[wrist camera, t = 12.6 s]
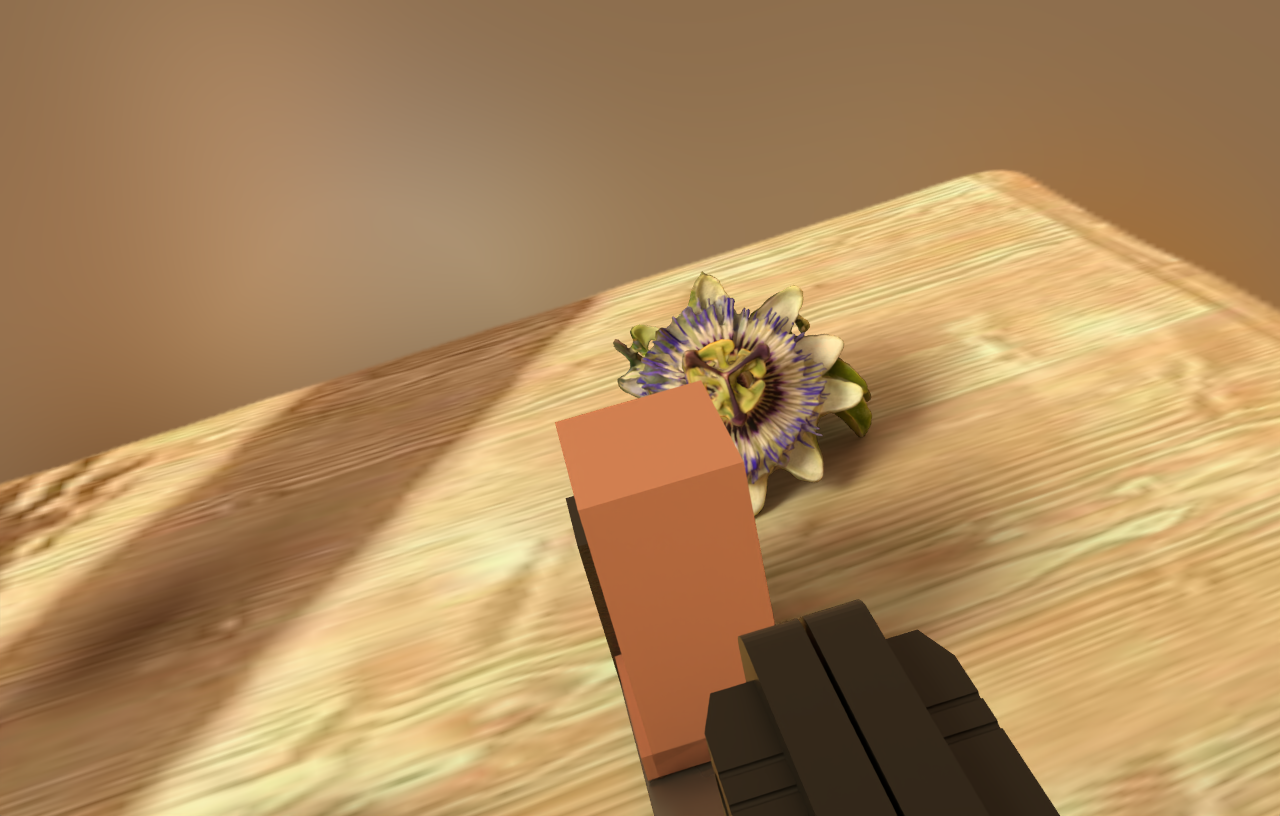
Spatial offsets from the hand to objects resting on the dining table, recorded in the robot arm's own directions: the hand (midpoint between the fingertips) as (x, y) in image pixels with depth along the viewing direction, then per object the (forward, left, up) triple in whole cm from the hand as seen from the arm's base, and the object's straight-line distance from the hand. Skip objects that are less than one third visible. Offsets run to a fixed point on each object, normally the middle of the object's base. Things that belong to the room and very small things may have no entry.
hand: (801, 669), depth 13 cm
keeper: (0, +18, -21) cm, 28 cm away
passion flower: (+6, +34, -22) cm, 41 cm away
